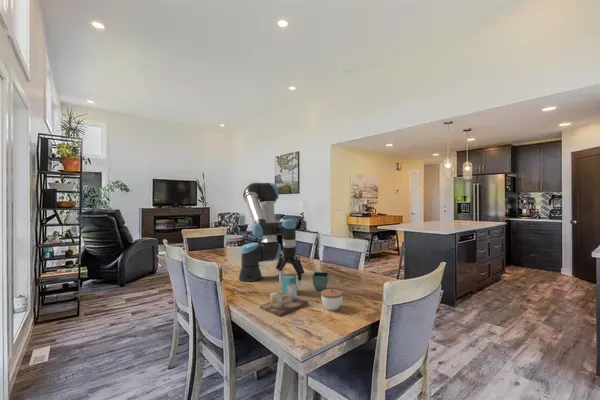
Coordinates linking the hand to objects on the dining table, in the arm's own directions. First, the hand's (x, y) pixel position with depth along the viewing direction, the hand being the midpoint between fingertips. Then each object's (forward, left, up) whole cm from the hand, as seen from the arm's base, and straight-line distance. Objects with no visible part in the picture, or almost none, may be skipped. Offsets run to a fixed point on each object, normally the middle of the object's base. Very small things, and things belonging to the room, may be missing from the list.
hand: (289, 283), depth 166 cm
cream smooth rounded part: (+13, -22, -5) cm, 26 cm away
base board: (+13, -17, -5) cm, 22 cm away
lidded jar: (+32, -3, -5) cm, 32 cm away
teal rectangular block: (0, 0, -5) cm, 5 cm away
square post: (+13, -11, -5) cm, 18 cm away
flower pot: (+10, +16, -5) cm, 20 cm away
